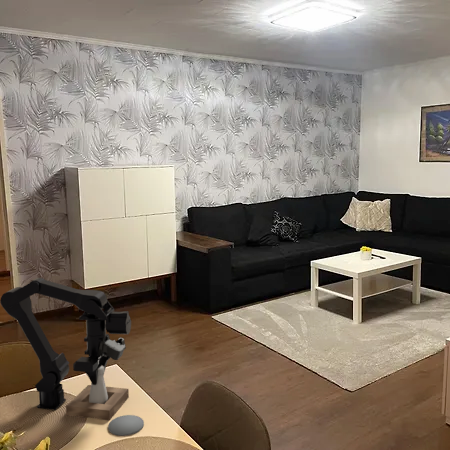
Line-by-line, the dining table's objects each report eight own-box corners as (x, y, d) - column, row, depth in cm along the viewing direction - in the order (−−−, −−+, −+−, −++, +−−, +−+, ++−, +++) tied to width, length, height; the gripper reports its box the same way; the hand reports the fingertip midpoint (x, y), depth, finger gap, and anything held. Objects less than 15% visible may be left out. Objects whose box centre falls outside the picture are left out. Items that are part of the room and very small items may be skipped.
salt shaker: (103, 411, 142) (101, 371, 141) (85, 409, 143) (84, 369, 142) (111, 402, 148) (110, 363, 146) (94, 400, 149) (93, 361, 147)
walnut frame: (66, 415, 140) (65, 405, 140) (88, 393, 154) (88, 384, 153) (109, 420, 137) (109, 410, 137) (128, 397, 151) (128, 388, 151)
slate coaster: (102, 433, 130) (102, 431, 130) (117, 415, 140) (117, 413, 140) (135, 437, 129) (135, 435, 128) (148, 418, 138) (148, 416, 138)
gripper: (107, 346, 132) (108, 398, 134) (132, 324, 150) (133, 371, 152) (71, 343, 134) (73, 394, 136) (100, 322, 153) (102, 368, 154)
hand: (97, 381), depth 145 cm, fingers closed on salt shaker, 4 cm apart
